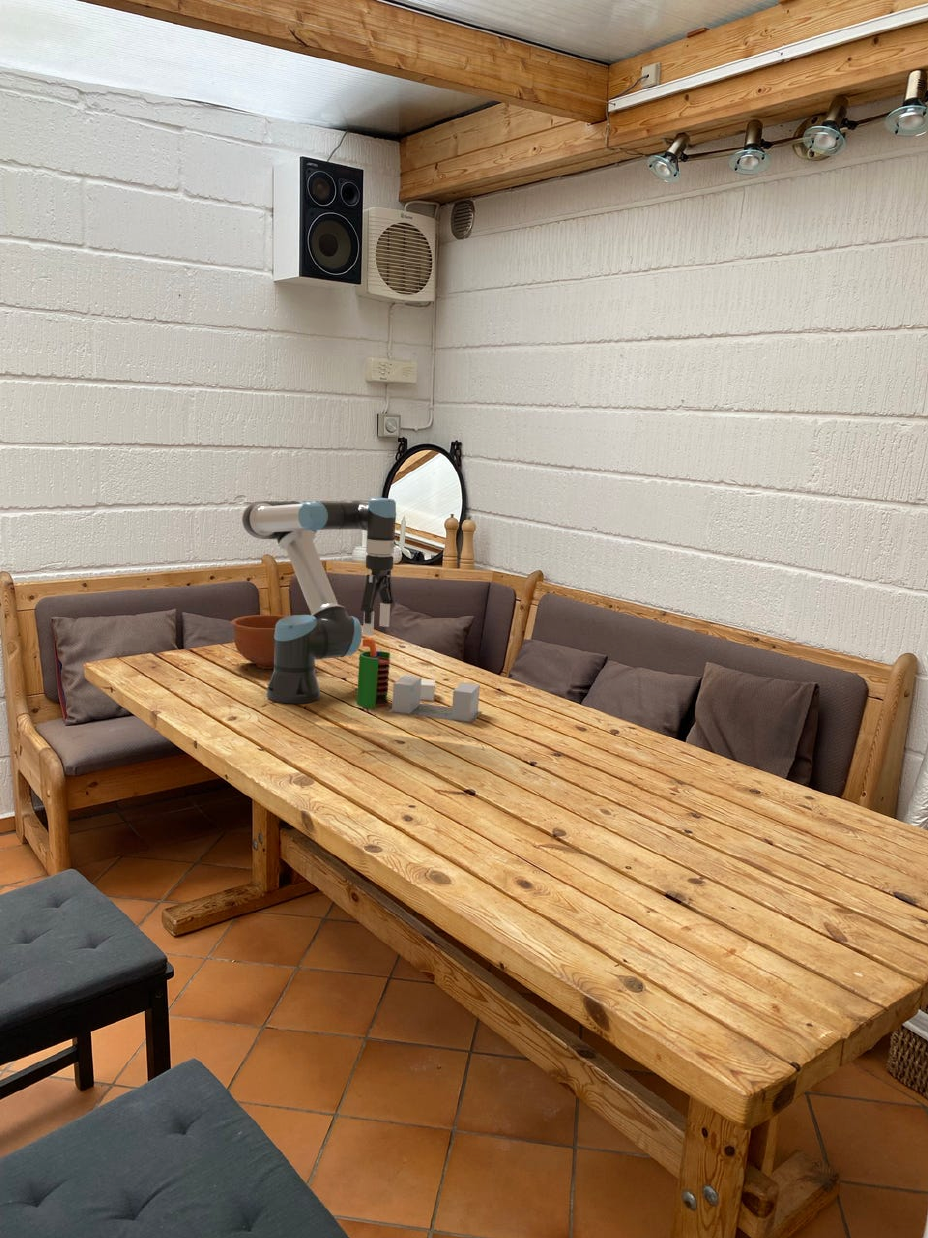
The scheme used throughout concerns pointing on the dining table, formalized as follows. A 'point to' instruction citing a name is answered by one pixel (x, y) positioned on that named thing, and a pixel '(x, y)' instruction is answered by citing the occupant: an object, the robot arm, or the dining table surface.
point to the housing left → (406, 694)
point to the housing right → (465, 701)
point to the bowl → (256, 638)
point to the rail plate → (435, 712)
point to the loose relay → (427, 689)
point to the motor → (373, 676)
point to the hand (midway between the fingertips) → (376, 630)
